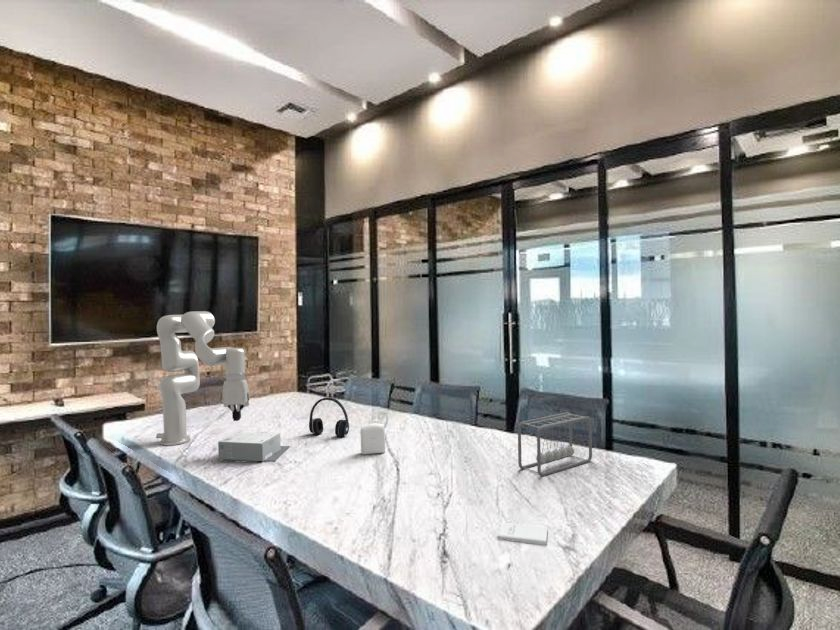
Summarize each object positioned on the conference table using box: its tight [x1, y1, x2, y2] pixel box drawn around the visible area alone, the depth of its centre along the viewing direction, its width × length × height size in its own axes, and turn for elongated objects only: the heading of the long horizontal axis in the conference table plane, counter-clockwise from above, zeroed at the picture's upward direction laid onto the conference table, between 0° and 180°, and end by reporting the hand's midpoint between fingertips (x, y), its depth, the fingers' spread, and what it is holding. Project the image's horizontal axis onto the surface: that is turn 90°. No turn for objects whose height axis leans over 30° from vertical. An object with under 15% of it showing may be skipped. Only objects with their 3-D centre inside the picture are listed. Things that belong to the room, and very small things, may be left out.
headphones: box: [308, 397, 350, 438], centre depth 227 cm, size 20×7×18 cm, turn 71°
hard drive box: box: [217, 431, 282, 463], centre depth 198 cm, size 16×8×20 cm
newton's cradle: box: [517, 411, 593, 477], centre depth 179 cm, size 30×10×18 cm, turn 124°
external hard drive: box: [497, 521, 549, 546], centre depth 125 cm, size 2×8×12 cm
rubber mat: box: [221, 445, 291, 463], centre depth 200 cm, size 22×20×1 cm
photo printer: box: [360, 422, 386, 455], centre depth 199 cm, size 10×4×12 cm, turn 100°
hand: (236, 420), depth 200 cm, fingers closed
